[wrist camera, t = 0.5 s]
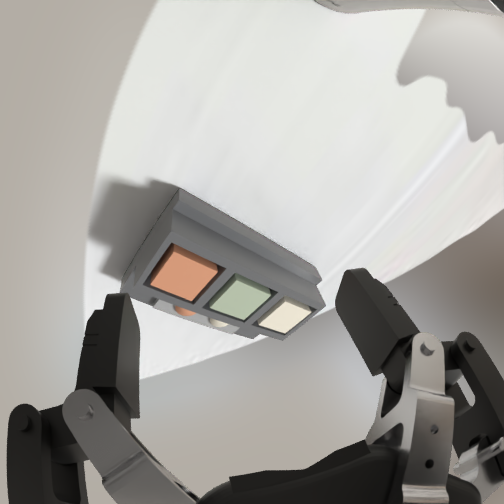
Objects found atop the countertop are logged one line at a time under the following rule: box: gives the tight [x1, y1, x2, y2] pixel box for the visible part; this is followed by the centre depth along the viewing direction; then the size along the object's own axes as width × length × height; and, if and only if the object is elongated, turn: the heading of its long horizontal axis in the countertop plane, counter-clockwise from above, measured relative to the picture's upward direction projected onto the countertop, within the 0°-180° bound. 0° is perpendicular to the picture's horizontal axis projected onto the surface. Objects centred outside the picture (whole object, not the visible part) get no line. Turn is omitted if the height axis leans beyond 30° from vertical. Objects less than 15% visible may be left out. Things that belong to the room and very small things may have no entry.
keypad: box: [120, 188, 326, 340], centre depth 32 cm, size 14×21×6 cm
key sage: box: [209, 273, 271, 320], centre depth 29 cm, size 5×5×2 cm
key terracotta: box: [150, 242, 218, 301], centre depth 26 cm, size 5×5×2 cm
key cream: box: [257, 295, 311, 333], centre depth 33 cm, size 5×5×2 cm
